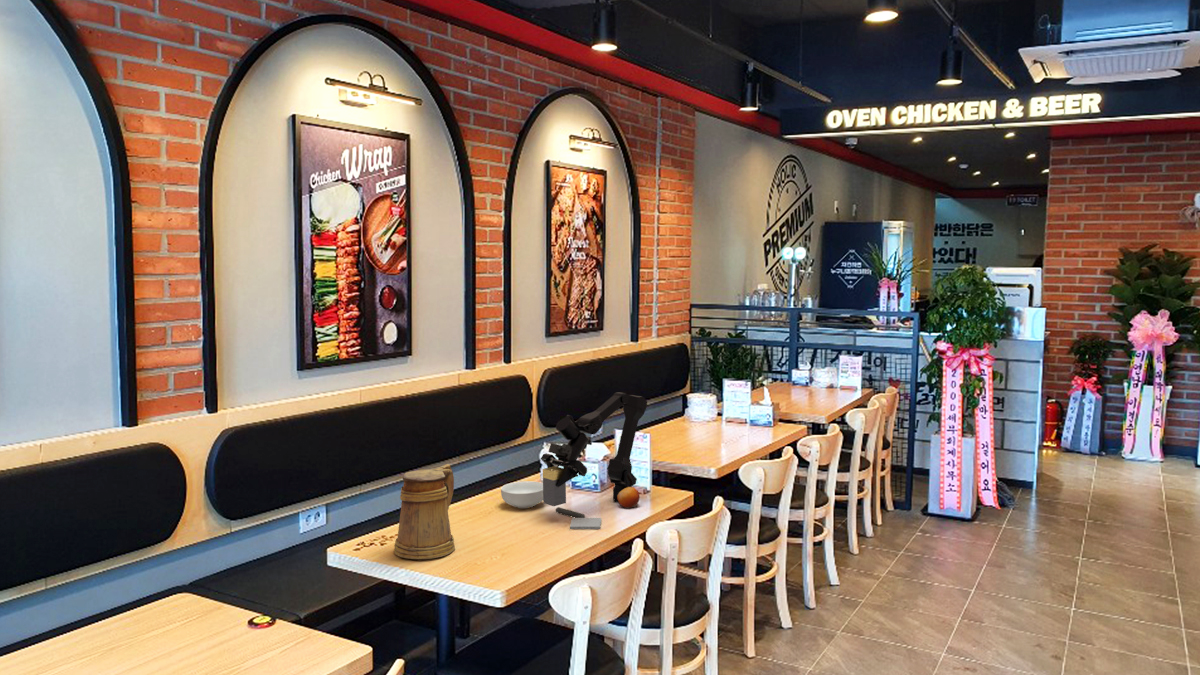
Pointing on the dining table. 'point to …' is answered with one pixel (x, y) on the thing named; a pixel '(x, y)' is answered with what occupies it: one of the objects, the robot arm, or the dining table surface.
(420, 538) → the tankard
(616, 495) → the robot arm
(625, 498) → the fruit
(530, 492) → the cereal bowl
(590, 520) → the coaster
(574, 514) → the dark notched bar
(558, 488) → the block
